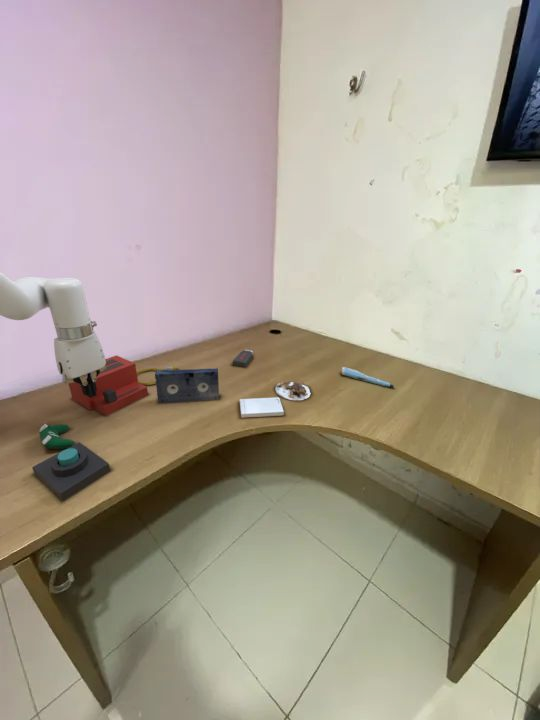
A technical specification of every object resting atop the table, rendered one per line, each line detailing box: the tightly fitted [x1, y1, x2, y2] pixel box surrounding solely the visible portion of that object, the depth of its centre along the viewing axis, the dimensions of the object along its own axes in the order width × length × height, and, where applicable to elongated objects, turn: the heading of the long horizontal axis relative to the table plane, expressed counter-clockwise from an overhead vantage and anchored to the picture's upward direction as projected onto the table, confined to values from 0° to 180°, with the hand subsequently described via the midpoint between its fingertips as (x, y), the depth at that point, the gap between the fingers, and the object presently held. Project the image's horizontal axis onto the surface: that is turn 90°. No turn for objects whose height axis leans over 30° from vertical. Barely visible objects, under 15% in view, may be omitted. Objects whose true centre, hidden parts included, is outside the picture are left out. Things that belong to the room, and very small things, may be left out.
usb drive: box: [232, 349, 254, 369], centre depth 123 cm, size 5×12×3 cm, turn 166°
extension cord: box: [136, 365, 178, 387], centre depth 108 cm, size 12×16×2 cm
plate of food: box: [274, 381, 311, 401], centre depth 102 cm, size 12×12×4 cm
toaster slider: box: [103, 389, 117, 403], centre depth 88 cm, size 2×2×3 cm
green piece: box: [38, 423, 75, 450], centre depth 76 cm, size 9×4×6 cm
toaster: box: [68, 355, 149, 417], centre depth 94 cm, size 16×16×9 cm
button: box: [57, 448, 79, 466], centre depth 66 cm, size 4×4×2 cm
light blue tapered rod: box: [341, 366, 395, 388], centre depth 112 cm, size 19×3×3 cm, turn 60°
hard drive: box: [239, 396, 285, 419], centre depth 93 cm, size 2×8×12 cm
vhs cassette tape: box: [154, 368, 220, 404], centre depth 94 cm, size 18×3×10 cm, turn 99°
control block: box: [31, 441, 111, 502], centre depth 67 cm, size 12×10×4 cm
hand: (90, 395), depth 83 cm, fingers closed
